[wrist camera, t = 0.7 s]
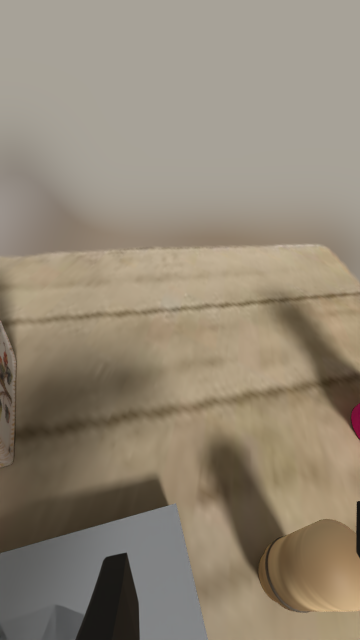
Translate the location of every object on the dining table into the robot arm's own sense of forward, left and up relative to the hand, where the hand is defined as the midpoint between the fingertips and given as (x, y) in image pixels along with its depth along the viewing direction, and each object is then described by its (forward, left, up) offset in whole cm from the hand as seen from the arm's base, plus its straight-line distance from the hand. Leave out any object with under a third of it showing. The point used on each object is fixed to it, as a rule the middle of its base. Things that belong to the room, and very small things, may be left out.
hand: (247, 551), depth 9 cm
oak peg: (-2, -8, -18) cm, 20 cm away
